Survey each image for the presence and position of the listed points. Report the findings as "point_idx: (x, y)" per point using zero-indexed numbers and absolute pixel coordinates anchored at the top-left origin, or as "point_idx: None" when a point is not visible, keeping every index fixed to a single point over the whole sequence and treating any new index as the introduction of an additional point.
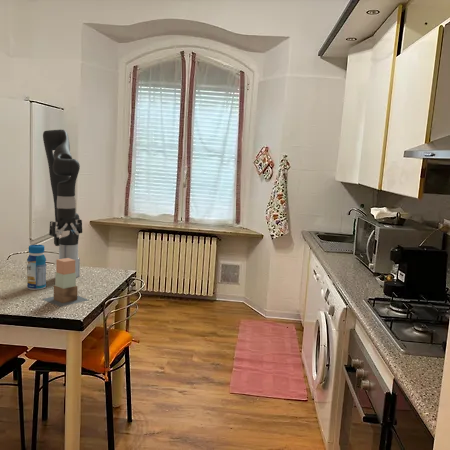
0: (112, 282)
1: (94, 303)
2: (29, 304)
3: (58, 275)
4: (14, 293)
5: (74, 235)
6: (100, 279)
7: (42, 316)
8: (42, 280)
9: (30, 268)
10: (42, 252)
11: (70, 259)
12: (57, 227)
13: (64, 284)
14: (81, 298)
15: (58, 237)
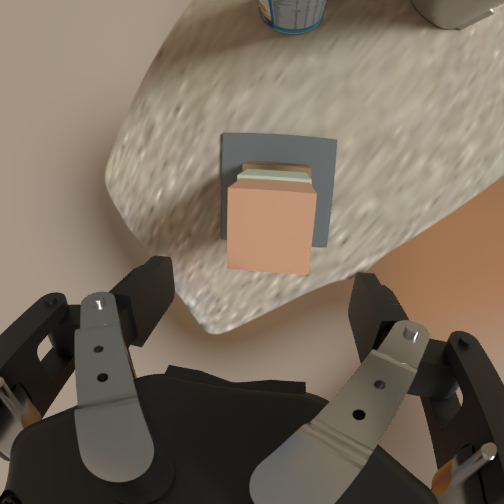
0: (491, 154)
1: (318, 275)
2: (174, 149)
3: None
4: (203, 23)
5: (369, 347)
6: (488, 102)
7: None
8: (296, 22)
9: None
10: None
11: (297, 243)
12: (77, 372)
13: None
14: (320, 218)
15: (133, 341)
